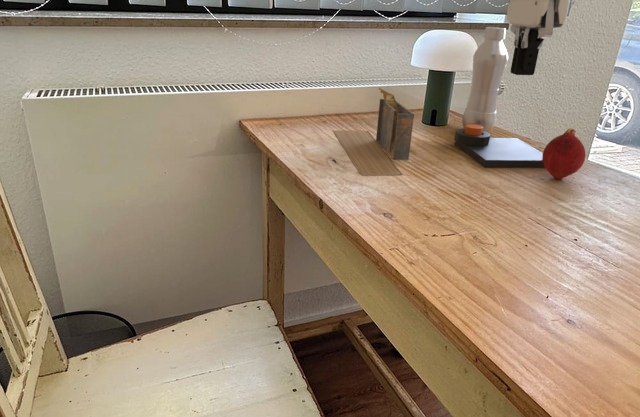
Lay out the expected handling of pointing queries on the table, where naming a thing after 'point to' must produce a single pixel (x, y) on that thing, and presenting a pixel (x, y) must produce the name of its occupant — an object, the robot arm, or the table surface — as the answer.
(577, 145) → the onion
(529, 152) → the scale
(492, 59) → the plastic bottle
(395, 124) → the ruin model on sheet
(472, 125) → the button
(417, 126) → the table surface
